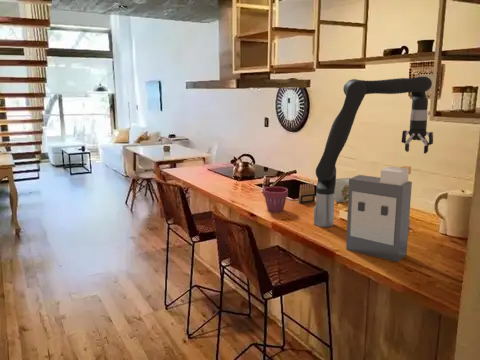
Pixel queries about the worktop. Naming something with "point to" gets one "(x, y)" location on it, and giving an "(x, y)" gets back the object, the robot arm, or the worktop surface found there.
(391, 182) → the block
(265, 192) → the plant pot
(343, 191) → the pitcher
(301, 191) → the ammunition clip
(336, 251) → the worktop surface
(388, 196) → the box
